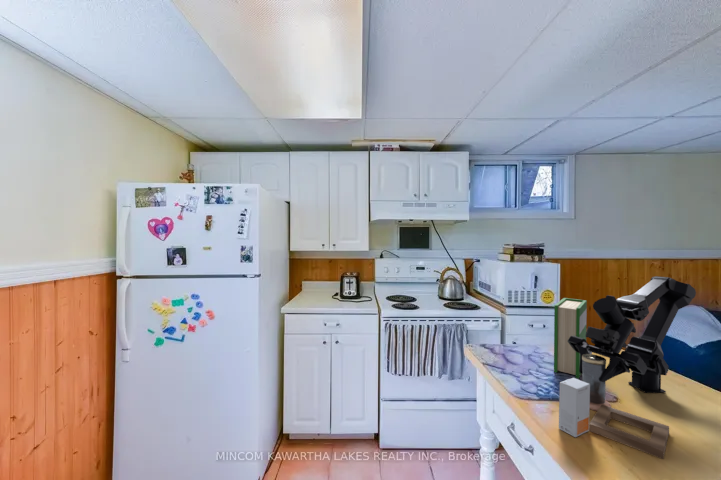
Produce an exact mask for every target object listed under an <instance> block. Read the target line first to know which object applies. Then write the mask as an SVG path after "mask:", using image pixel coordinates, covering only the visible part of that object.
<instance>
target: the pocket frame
mask: <svg viewBox="0 0 721 480" xmlns="http://www.w3.org/2000/svg"><path fill="white" fill-rule="evenodd" d="M611 419H613V420H615V421H618V422H621V423H622V424H627V425H630V426H632V427H635V428H638V429H641V430H644V431H646V432H651V435H650V437H649V439H646V438H644V437H641V436H638V435H635V434H633V433H630V432H628V431H625V430H622V429H618V428H616V427H613V426H610V425H609V423H610V421H611ZM588 432H591V433H594V434H596V435H599V436H602V437H604V438H607V439H610V440H612V441H614V442H618V443H620V444H622V445H626V446H627V447H628V446H629V447H631V448H633V449H635V450H638V451H640V452H643V453H647V454H649V455H651V456H654V457H656V458H658V459H661V460H664V457H665V453H666V449H667V445H668V444H667V443H668V439H669V435H670V426H669V425H666V424H663V423H661V422H658V421H655V420H651V419H648V418H645V417H642V416H638V415H636V414H633V413H629V412H626V411H623V410H621V409H617V408H615V407H612V406H611V407H608V406H605V405H601V406H600V408H599V409H598V411H596V412H595V414H594V415H593V418H592V419H591V420H590V421H589V431H588Z"/></svg>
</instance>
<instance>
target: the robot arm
mask: <svg viewBox="0 0 721 480" xmlns="http://www.w3.org/2000/svg"><path fill="white" fill-rule="evenodd" d="M696 295H697V292H696V289H695V288H694V287H693V286H692V285H691V284H689V283H684V282H682V281H679V280H676V279H674V278H671V277H667V276H657V275H655V276H652V277H651V278H650V281H649V282H647V283H646V284H645V285H643V286H642V287H640V289H638V290H636V292H634V293H633V294H629V295H623V296H621V297H618V298H616V296H614V295H608V294H607V295H605V297H602V298H599V299H598V300H596V301H594V302H593V304H592V308H593V310H594V311H595V313H596V314H597V315H598V317H599V318H600V319H601V321H602V322H603V323H604V324H606V325H605V326H604V327H603V328H596V327H593V326H587V328H586V335H585V337H586V338H588V339H590V342H591V343H592V344H594V345H591V344H589V343H588V342H587V339H586V340H585V339H583V338H580V337H577V336H570V337H569V339H568V341H567V342H568V343H569V344H570V345H571V347H572V348H573V349H574V351H576V352H578V353H580V367H579V372H580V373H581V375H582V355H583V354H593V353H594V354H595V355H598V356H601V357H604V358H609V362H608V363H607V366H606V369H605V371H604V373H603V374H602V376H601V379H600V381H601V382H605V381H608V380H611V379H612V378H614V377H616V376H619V375H622V374H624V373H629V374H630V372H631V381H628V384H629V385H630V386H632V387H634V388H636V389H638V390H640V391H641V392H643V393H646V394H649V393H650V394H666V392H667V391H666V390H665V389H662V387H661V386H662V385H661V384H662V382H661V381H662V376H667V374H668V372H669V365H668V364H667V362H666V360H665V359H664V357H665V355H664V352H663V349H662V344H663V342H664V339H665V337H666V336H667V334H668V332H669V330H670V328H671V326H672V323H673V321H674V320H675V318H676V315H677V314H678V312H679V310H681V309H683V308H685V307H687V306H689V305H690V304H691V302H692V301H693V299H695V297H696ZM658 300H659V302H658V304H657V305H656V308H655V309H654V311H653V314H652V315H651V317H650V319H649V321H648V323H647V325H646V327H645V329H644V331H643V333H642V335H641V336H639V337H638V336H632V337H631V338H630V340H629V342H628V344H627V343H626V342H627V340H628V339H629V336H631V335H630V334H631V333H636V332H637V330H636V329H637V328H636V327H635V324H634V323H633V322H632V320H633V321H639V322H642V321H644V320H645V319H646V318H647V316H648V315H649V314H650V310H649V308H650V306H651V305H653V304H654V303H655V302H656V301H658ZM624 348H625V349H624ZM622 349H624V350H622ZM605 383H606V382H605Z"/></svg>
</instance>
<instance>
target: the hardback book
mask: <svg viewBox="0 0 721 480" xmlns="http://www.w3.org/2000/svg"><path fill="white" fill-rule="evenodd" d="M587 305H588V302H587V300H584V299H577V298H568V297H563V298H562V299H561V300H558V302H557V303H555V304H554V310H553V311H554V312H553V313H554V314H553V315H554V316H553V317H554V319H553V320H554V321H553V322H554V323H553V325H554V326H553V330H554V331H553V333H554V334H553V373H555V372H556V374H557V373H558V372H562V373H566V374H571V375H574V376H575V378H576V379H580V377H581V375H582V374H581V373H580V372H579V367H580V353H578V352H576V351H574V349H573V348H572V347H571V345H570V344H569V343H568V342H567V341H568V339H569V337H570V336H577V337H580V338H583V339H585V340H586V341H587V337H585V335H586V332H587V319H588V318H587V314H588V313H587V311H588V310H587V309H588V306H587Z"/></svg>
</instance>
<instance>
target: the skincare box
mask: <svg viewBox="0 0 721 480" xmlns="http://www.w3.org/2000/svg"><path fill="white" fill-rule="evenodd" d="M558 398H559V401H558V402H559V403H558V429H559V430H561V431H562V432H565V433H567V435H568V434H569V435H570V436H572V437H574V438H578V437H579V436H582V435H584V434H586V433H588V432H590V431H589V423H590V409H589V408H590V384H589V383H586V382H583V381H582V380H580V379H579V378H576V377H572V378H568V379H565V380H563V381H560V382H559V397H558Z"/></svg>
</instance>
